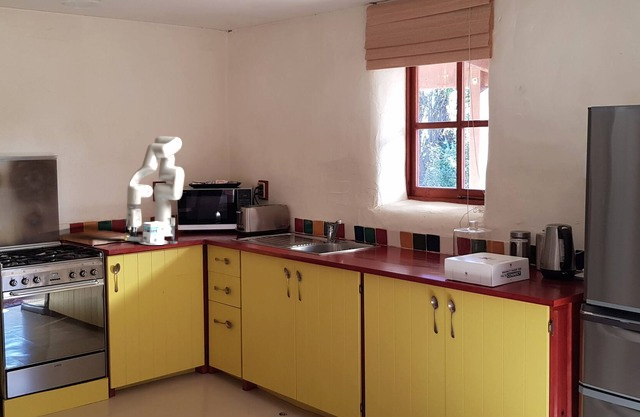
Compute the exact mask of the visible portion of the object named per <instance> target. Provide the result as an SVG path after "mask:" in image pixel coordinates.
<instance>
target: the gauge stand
mask: <svg viewBox="0 0 640 417" xmlns="http://www.w3.org/2000/svg"><path fill="white" fill-rule="evenodd" d="M167 225H169V226H171V227H172V230H171V233H172V236H171V240H170V241H168V244H169V243H170V245H176V244H178V241H177V240H175V226H176V218H175V217H171V218H169V217H168V218H167Z"/></svg>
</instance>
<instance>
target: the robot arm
mask: <svg viewBox="0 0 640 417" xmlns="http://www.w3.org/2000/svg"><path fill="white" fill-rule="evenodd" d="M182 145H183V142H182V139H181V138H180V137H178V136H166V135H160V136H156V137H155V139H154V142H153V143H150V144H148V146H147V148H146V151H145V155H144V158H143V161H142V165H141V166H140V168H138V169H137V170H136V171H135V172H134V173H133V174H132V176H131V178H130V180H129V183H128V186H127V192H126V193H127V196H126V210H127V211H126V218H125V219H126V220H125V221H126V222H125V224H126V227H127V230H129V236H135V237H137V232H138V229H139V228H140V227H141V226H143V220H142V219H143V218H142V209H141V206H142V205H141V204H142V202H141V201H142V198H144V199H147V198H150V197H151V196H152V195H154V197H153V198H154V222H162V223H165V225H164V237H172V226H169V225H167V218H168V217H169V218H172V205H171V204H172V203H171V202H170V201H178V200H180V199H181V198H182V196H183V190H184V184H185V177H186V176H185V170H184V169H183V167H181V166H176V165H175V164H176V163H175V162H176V158H175V154H176V153H178V152H179V151H180V150H181V149H182ZM159 162H160V163H159ZM158 166H159V168H158ZM157 169H158V178H159V180H160V181H162V183H157V184H155V186H154V187H152V186H150V185H148V184H141V183H140V182H141V180H142V179H143V178H145V177H146V176H149V175H152V174H153V173H154V174H155V172H156V171H157ZM164 182H167V183H164ZM168 182H170V183H168ZM139 183H140V184H139Z"/></svg>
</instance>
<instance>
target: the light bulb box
mask: <svg viewBox="0 0 640 417" xmlns="http://www.w3.org/2000/svg"><path fill="white" fill-rule="evenodd" d="M164 225H165V223H162V222H155V221H149V222H142V240H143V242H149V243H153V242H162V241H164V240H165V236H164Z"/></svg>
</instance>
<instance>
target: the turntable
mask: <svg viewBox="0 0 640 417" xmlns="http://www.w3.org/2000/svg"><path fill="white" fill-rule="evenodd" d="M123 239H124V241H129V242H138V243H139V244H142V245H146V246H147V245H148V246H160V245H168V244H169V241H167V240H165V239H164V241H162V242H153V243H149V242H143V236H136V237H135V236H130V235H127V234H126V235H124V238H123Z"/></svg>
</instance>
